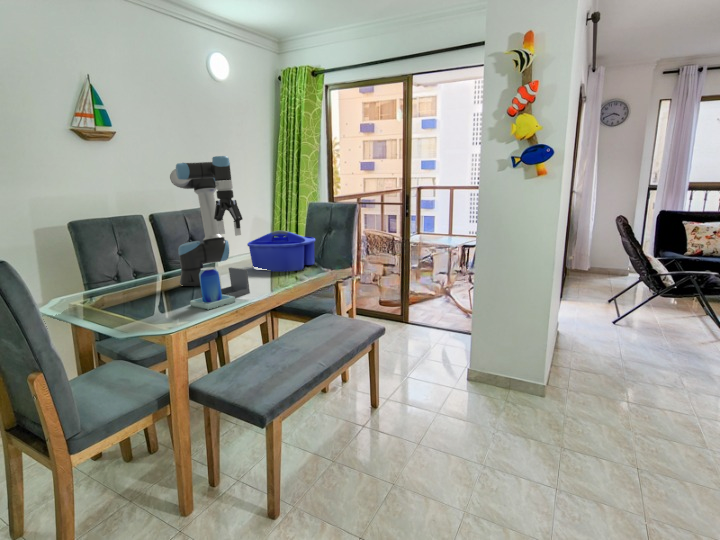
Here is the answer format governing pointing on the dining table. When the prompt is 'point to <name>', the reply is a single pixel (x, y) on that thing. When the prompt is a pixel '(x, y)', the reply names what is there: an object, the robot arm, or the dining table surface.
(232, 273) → the bay
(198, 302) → the tray
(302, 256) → the caddy
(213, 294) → the beer can
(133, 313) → the dining table surface
